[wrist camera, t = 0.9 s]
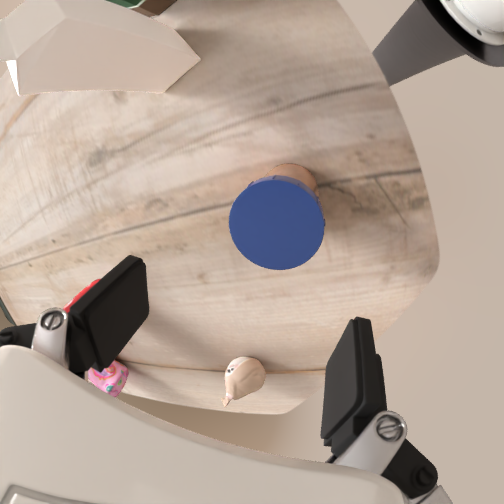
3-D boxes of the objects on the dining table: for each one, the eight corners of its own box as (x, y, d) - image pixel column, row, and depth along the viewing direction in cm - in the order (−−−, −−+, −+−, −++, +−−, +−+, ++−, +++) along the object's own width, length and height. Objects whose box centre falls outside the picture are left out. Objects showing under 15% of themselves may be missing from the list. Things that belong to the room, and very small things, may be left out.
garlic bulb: (224, 349, 41) (207, 388, 34) (262, 347, 39) (249, 389, 32) (238, 375, 44) (224, 412, 37) (273, 374, 42) (263, 414, 35)
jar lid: (242, 166, 19) (235, 170, 18) (333, 187, 18) (335, 193, 17) (230, 247, 23) (223, 257, 21) (311, 267, 22) (310, 279, 20)
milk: (174, 29, 22) (11, -23, 3) (202, 60, 23) (22, 9, 4) (138, 63, 24) (-30, 55, 5) (162, 95, 26) (-22, 104, 7)
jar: (267, 157, 27) (241, 175, 18) (324, 171, 26) (328, 196, 17) (257, 211, 30) (230, 252, 21) (311, 224, 29) (306, 271, 20)
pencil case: (64, 332, 55) (44, 354, 47) (61, 310, 51) (38, 333, 43) (130, 380, 55) (113, 407, 48) (133, 363, 51) (113, 393, 43)
